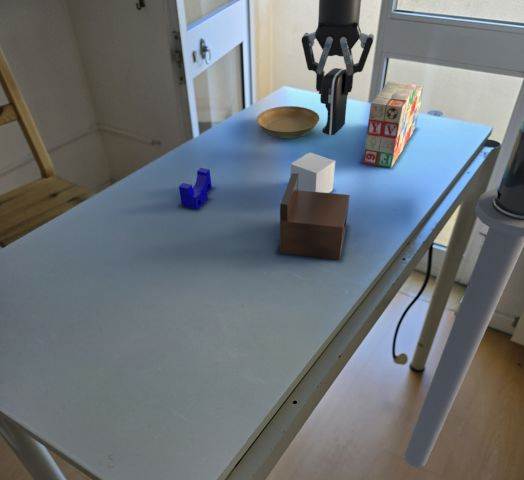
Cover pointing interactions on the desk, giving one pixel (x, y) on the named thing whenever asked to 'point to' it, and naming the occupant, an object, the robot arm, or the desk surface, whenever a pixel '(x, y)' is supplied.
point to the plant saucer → (288, 121)
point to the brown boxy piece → (312, 222)
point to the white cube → (314, 173)
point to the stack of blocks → (391, 122)
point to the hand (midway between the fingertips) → (333, 93)
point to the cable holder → (196, 190)
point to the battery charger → (334, 99)
